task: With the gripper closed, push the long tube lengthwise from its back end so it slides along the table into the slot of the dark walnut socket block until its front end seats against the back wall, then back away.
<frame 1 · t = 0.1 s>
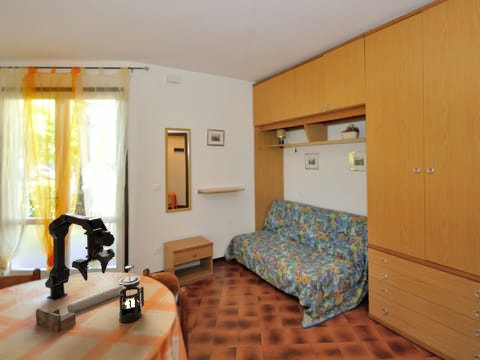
hand: (95, 276, 126), 15 cm above the table, tool pointing down, fingers open, 9 cm apart
tube: (96, 303, 131), on the table
french press: (131, 317, 118), on the table
socket: (59, 322, 114), on the table
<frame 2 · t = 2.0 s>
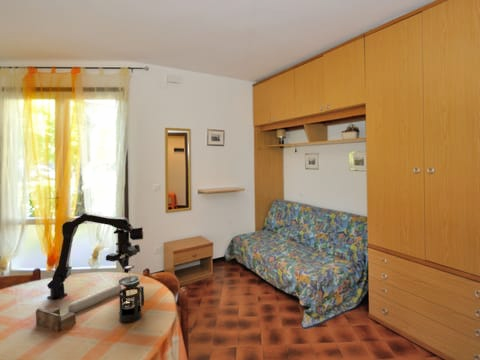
hand: (124, 268, 147), 11 cm above the table, tool pointing down, fingers closed
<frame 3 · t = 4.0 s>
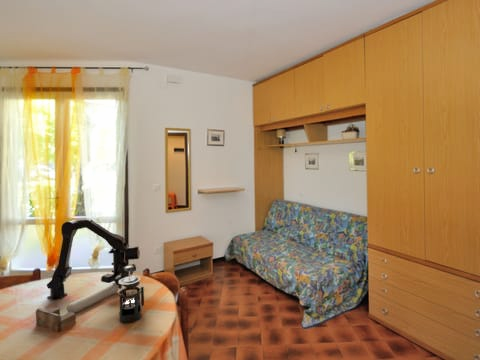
hand: (120, 288, 144), 1 cm above the table, tool pointing down, fingers closed
tube: (93, 303, 131), on the table, touching gripper
everything else where it was.
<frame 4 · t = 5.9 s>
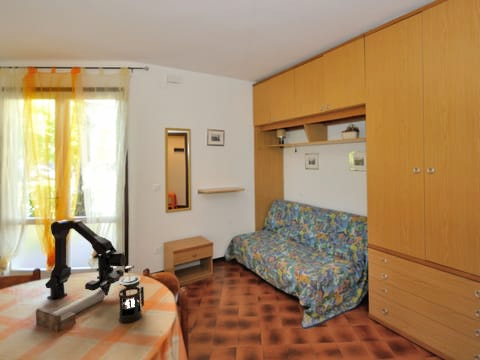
hand: (106, 295, 136), 1 cm above the table, tool pointing down, fingers closed
tube: (77, 312, 123), on the table, touching gripper, socket
everything else where it was.
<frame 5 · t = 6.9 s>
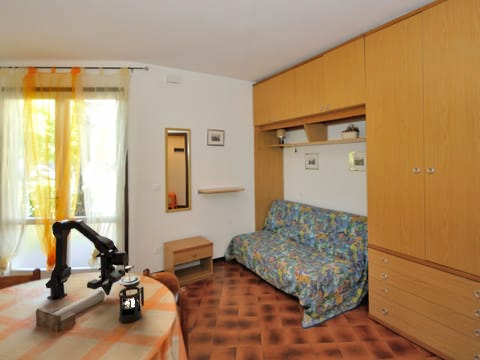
hand: (107, 295, 137), 1 cm above the table, tool pointing down, fingers closed
tube: (78, 312, 123), on the table
everything else where it was.
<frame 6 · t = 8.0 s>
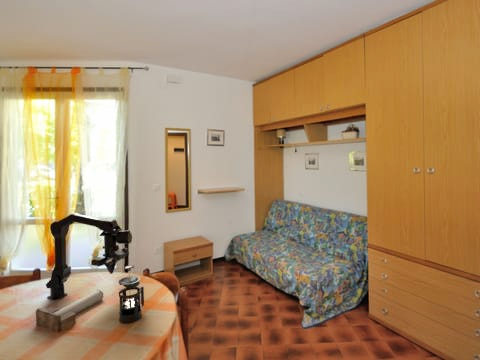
hand: (111, 273, 139), 11 cm above the table, tool pointing down, fingers closed
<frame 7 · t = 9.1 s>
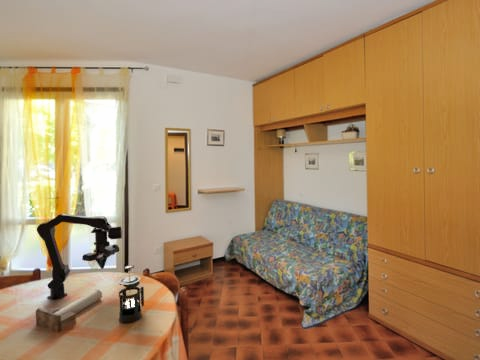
hand: (102, 268, 144), 12 cm above the table, tool pointing down, fingers closed
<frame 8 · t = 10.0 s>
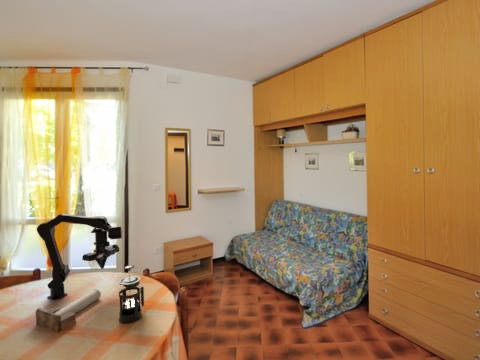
hand: (102, 268, 144), 12 cm above the table, tool pointing down, fingers closed
at the end: tube 2.1 cm from the target spot on the table beside the socket, on the table; tube moved 9.2 cm from its start; the gripper is holding nothing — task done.
